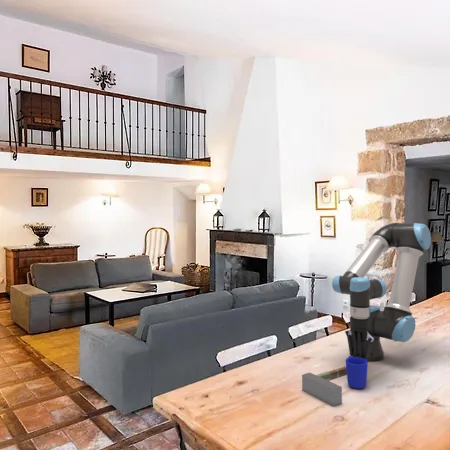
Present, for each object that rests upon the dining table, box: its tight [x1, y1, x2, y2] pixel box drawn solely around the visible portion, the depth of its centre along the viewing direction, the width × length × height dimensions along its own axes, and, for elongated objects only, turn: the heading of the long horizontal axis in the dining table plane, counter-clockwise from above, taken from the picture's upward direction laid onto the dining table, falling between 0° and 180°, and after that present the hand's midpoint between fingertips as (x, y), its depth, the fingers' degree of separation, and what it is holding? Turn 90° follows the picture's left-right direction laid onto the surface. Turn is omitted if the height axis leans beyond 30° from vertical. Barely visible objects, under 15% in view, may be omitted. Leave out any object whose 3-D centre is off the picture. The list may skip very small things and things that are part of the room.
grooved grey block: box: [301, 372, 343, 407], centre depth 157 cm, size 16×5×6 cm, turn 33°
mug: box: [345, 355, 369, 390], centre depth 167 cm, size 8×12×10 cm
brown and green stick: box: [316, 365, 347, 381], centre depth 174 cm, size 2×30×3 cm, turn 123°
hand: (359, 375), depth 171 cm, fingers closed
